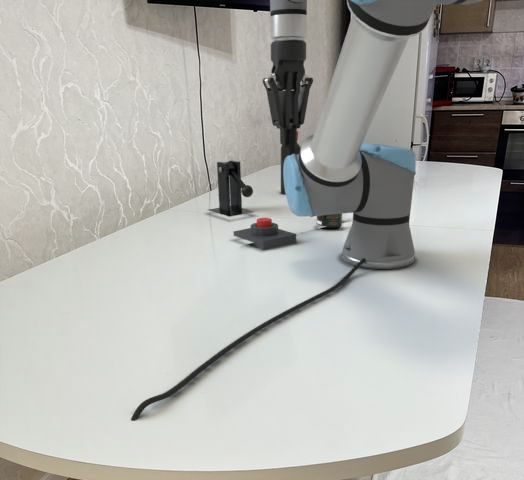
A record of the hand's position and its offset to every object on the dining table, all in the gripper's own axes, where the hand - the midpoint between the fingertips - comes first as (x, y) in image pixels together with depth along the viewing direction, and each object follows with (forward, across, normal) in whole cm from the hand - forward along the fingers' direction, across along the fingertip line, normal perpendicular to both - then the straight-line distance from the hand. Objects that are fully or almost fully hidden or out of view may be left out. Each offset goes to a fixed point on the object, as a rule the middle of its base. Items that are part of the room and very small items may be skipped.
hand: (288, 159), depth 120 cm
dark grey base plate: (+19, +5, -3) cm, 20 cm away
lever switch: (+18, -6, -32) cm, 38 cm away
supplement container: (+19, -16, -2) cm, 25 cm away
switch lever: (+9, -6, -29) cm, 31 cm away
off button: (+15, +5, -3) cm, 16 cm away
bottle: (+18, -42, -46) cm, 65 cm away
